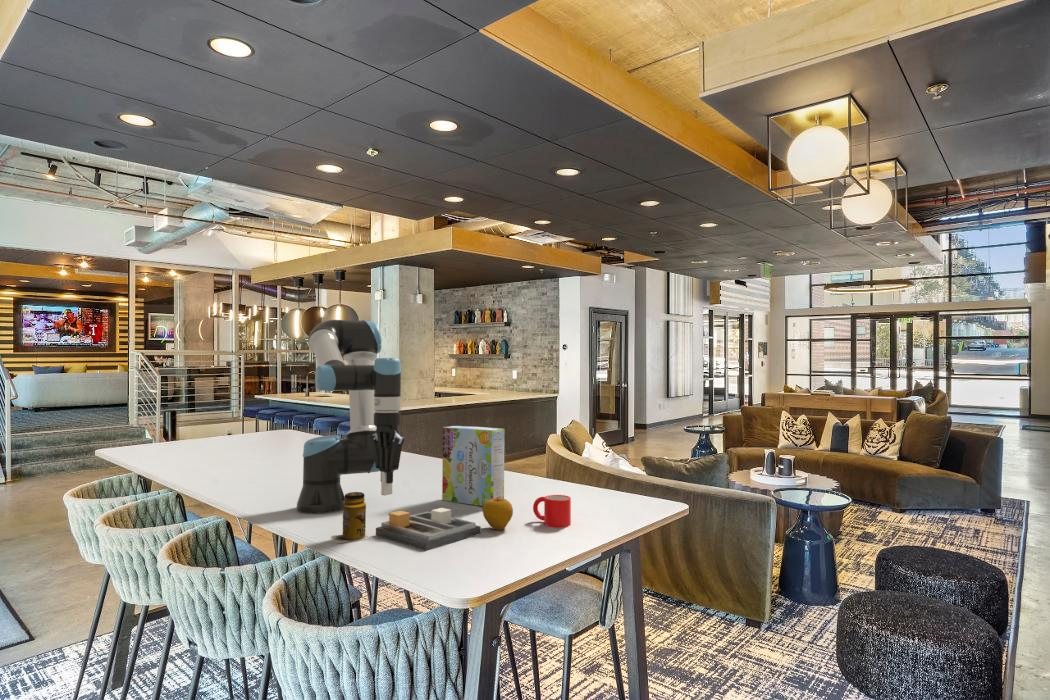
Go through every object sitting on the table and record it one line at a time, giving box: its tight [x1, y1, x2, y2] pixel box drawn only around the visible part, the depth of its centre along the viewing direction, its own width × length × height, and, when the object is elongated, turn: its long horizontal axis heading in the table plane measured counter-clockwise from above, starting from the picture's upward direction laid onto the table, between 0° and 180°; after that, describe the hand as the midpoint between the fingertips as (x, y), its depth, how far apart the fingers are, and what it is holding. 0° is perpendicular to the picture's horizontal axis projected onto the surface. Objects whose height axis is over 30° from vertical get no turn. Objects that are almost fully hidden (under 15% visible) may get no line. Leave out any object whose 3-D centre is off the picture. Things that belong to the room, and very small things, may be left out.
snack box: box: [441, 425, 506, 507], centre depth 207 cm, size 22×9×26 cm, turn 58°
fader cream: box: [430, 507, 452, 524], centre depth 171 cm, size 4×4×4 cm
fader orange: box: [388, 510, 411, 527], centre depth 167 cm, size 4×4×4 cm
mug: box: [532, 494, 572, 529], centre depth 180 cm, size 8×12×8 cm, turn 65°
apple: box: [482, 498, 514, 531], centre depth 173 cm, size 9×9×9 cm
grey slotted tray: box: [375, 511, 482, 551], centre depth 167 cm, size 21×20×3 cm
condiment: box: [331, 491, 370, 544], centre depth 164 cm, size 7×8×12 cm
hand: (386, 494), depth 171 cm, fingers closed
